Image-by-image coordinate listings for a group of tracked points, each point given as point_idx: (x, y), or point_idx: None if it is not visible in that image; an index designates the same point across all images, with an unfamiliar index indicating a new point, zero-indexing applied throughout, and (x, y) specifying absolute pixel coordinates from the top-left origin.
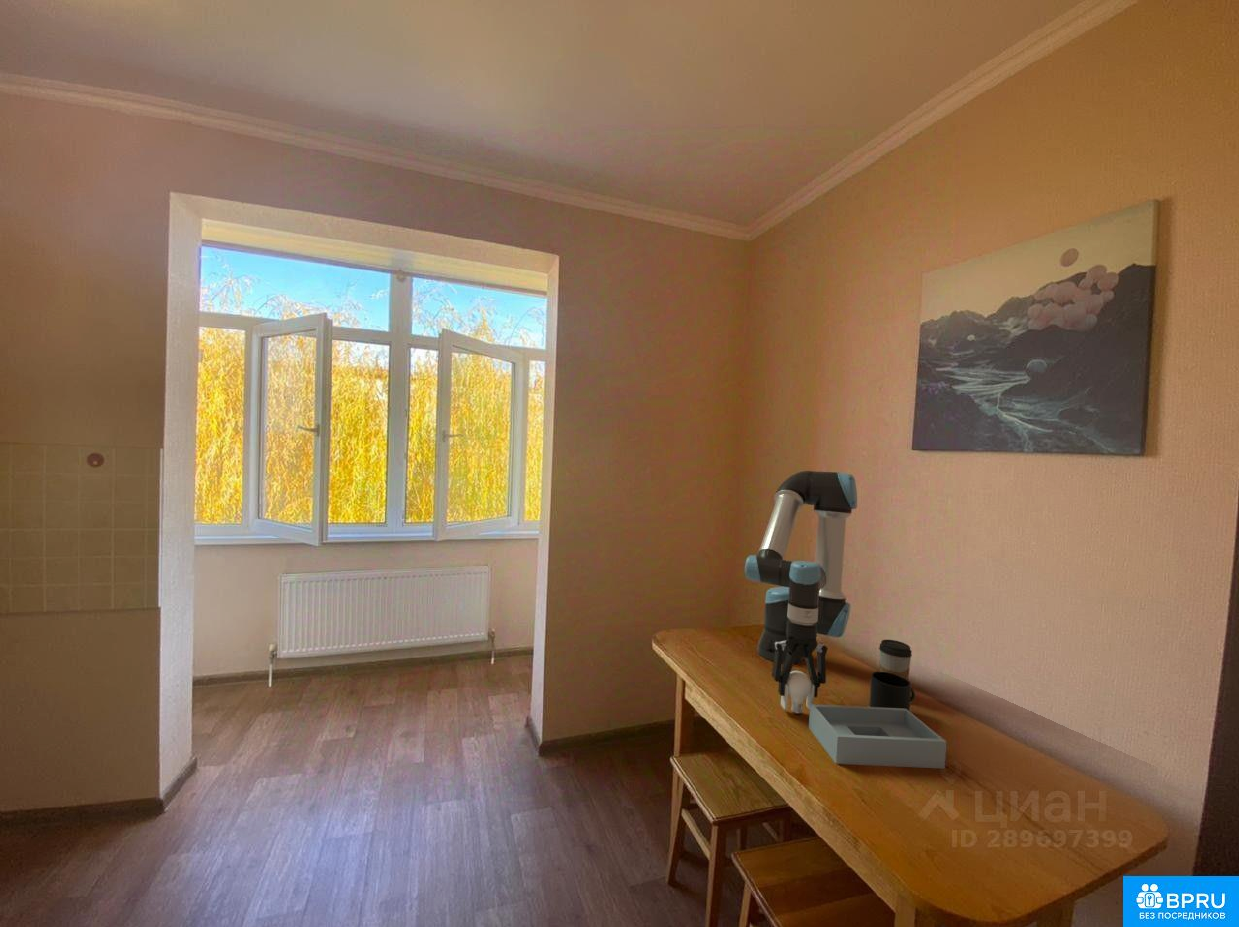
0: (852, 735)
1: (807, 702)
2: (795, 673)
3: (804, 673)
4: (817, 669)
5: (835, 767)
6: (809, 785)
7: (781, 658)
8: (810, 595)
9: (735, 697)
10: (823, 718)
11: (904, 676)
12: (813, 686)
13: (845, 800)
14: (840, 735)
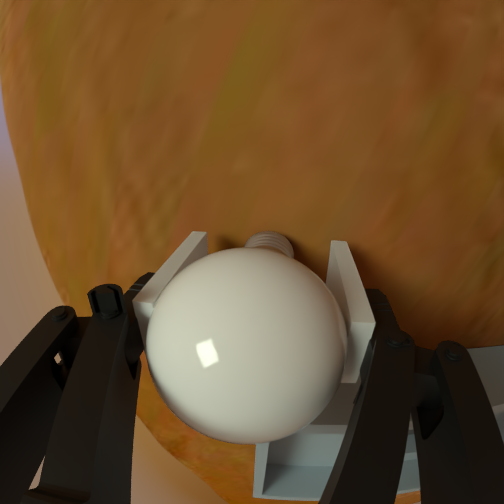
0: (296, 497)
1: (331, 265)
2: (189, 424)
3: (292, 420)
4: (451, 420)
5: (253, 450)
6: (183, 459)
7: (22, 485)
8: None
9: (51, 138)
10: (258, 468)
11: None
12: (347, 381)
13: (229, 479)
14: (263, 496)
